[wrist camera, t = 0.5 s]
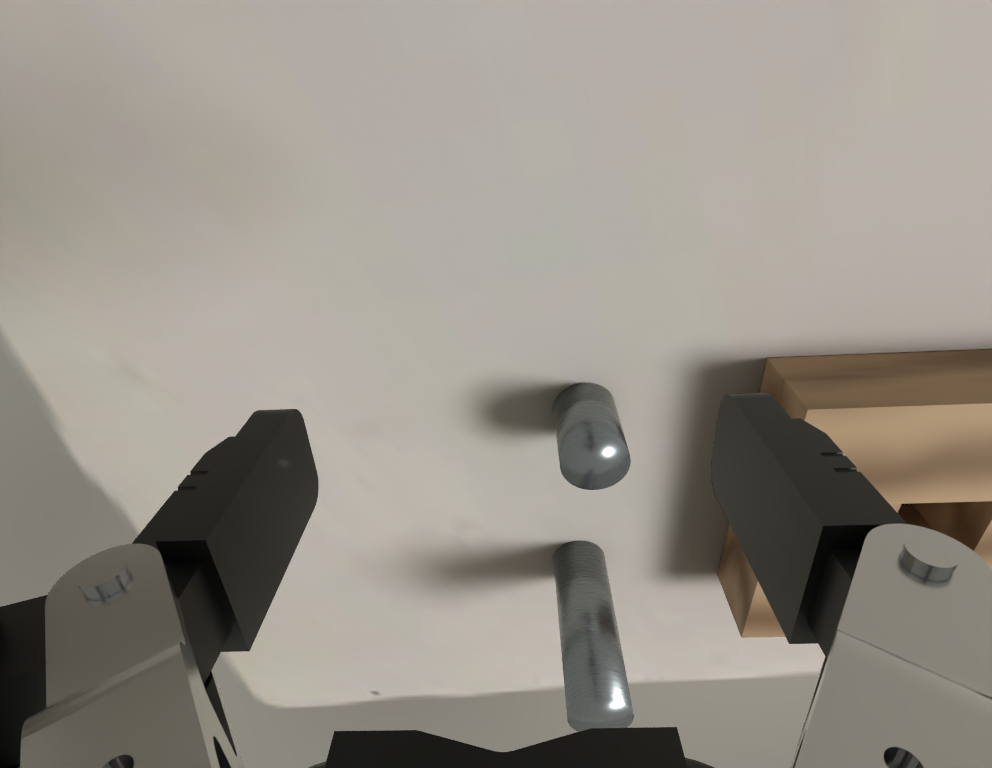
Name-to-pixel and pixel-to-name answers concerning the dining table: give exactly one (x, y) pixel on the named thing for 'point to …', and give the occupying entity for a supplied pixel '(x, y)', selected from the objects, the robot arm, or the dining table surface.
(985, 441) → the block
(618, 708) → the long pin
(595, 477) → the short pin
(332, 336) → the dining table surface
